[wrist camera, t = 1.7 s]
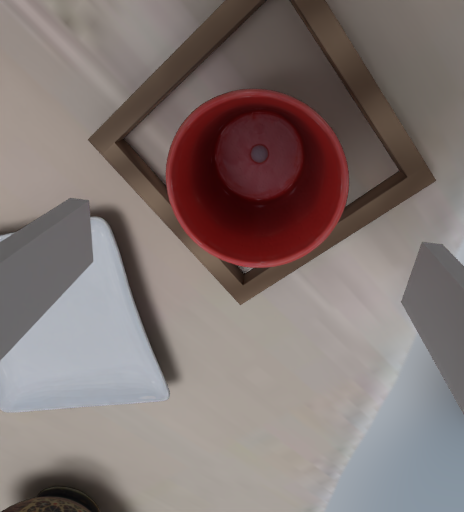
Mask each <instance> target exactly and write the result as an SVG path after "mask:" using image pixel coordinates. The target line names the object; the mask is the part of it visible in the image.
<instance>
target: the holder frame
mask: <svg viewBox="0 0 464 512" xmlns="http://www.w3.org/2000/svg"><path fill="white" fill-rule="evenodd" d="M265 1H266V0H225V1H224V2H223V3H222V4H221V5H220V6H219V7H218V8H217V9H216V10H215V11H214V12H213V14H212V15H211V16H210V17H209V18H208V19H207V20H206V21H205V22H204V23H203V24H202V25H201V26H200V27H199V28H198V29H197V30H196V31H195V32H194V33H193V34H192V35H191V36H190V37H189V38H188V39H187V40H186V41H185V42H184V43H183V44H182V45H181V46H180V47H179V48H178V49H177V50H176V51H175V52H174V53H173V54H172V55H171V56H170V57H169V58H168V59H167V60H166V61H165V62H164V63H163V64H162V65H161V66H160V67H159V68H158V69H157V70H156V71H155V72H154V73H153V74H152V75H151V76H150V77H149V78H148V79H147V80H146V81H145V82H144V83H143V84H142V85H141V86H140V87H139V88H138V89H137V90H136V91H135V92H134V93H133V94H132V95H131V96H130V97H129V98H128V99H127V100H126V101H125V102H124V103H123V104H122V106H121V107H120V108H119V109H118V110H117V111H116V112H115V113H114V114H113V115H112V116H111V117H110V118H109V119H108V120H107V121H106V122H105V123H104V124H103V125H102V126H101V127H100V128H99V129H98V130H97V131H96V132H95V133H94V134H93V135H92V136H91V137H90V138H89V139H88V141H89V142H90V143H91V144H92V145H93V146H94V147H95V148H96V149H97V150H98V151H99V152H100V154H101V155H102V156H103V157H104V158H105V159H106V160H107V161H108V162H109V163H110V164H111V165H112V167H113V168H114V169H115V170H116V171H117V172H118V173H119V174H120V175H121V176H122V177H123V178H124V180H125V181H126V182H127V183H128V184H129V185H130V186H131V187H132V188H133V189H134V190H135V191H136V193H137V194H138V195H139V196H140V197H141V198H142V199H143V200H144V201H145V202H146V203H147V204H148V206H149V207H150V208H151V209H152V210H153V211H154V212H155V213H156V214H157V215H158V216H159V217H160V219H161V220H162V221H163V222H164V223H165V224H166V225H167V226H168V227H169V228H170V229H171V230H172V232H173V233H174V234H175V235H176V236H177V237H178V238H179V239H180V240H181V241H182V242H183V243H184V245H185V246H186V247H187V248H188V249H189V250H190V251H191V252H192V253H193V254H194V255H195V256H196V258H197V259H198V260H199V261H200V262H201V263H202V264H203V265H204V266H205V267H206V268H207V269H208V271H209V272H210V273H211V274H212V275H213V276H214V277H215V278H216V279H217V280H218V281H219V282H220V284H221V285H222V286H223V287H224V288H225V289H226V290H227V291H228V292H229V293H230V294H231V295H232V297H233V298H234V299H235V300H236V301H237V302H238V303H239V304H240V305H241V304H243V303H244V302H246V301H248V300H249V299H251V298H252V297H254V296H255V295H257V294H259V293H260V292H262V291H263V290H265V289H266V288H268V287H270V286H271V285H273V284H274V283H276V282H277V281H279V280H281V279H282V278H284V277H285V276H287V275H288V274H290V273H292V272H293V271H295V270H296V269H298V268H299V267H301V266H303V265H304V264H306V263H307V262H309V261H311V260H312V259H314V258H315V257H317V256H318V255H320V254H322V253H323V252H325V251H326V250H328V249H329V248H331V247H333V246H334V245H336V244H337V243H339V242H340V241H342V240H344V239H345V238H347V237H348V236H350V235H351V234H353V233H355V232H356V231H358V230H359V229H361V228H362V227H364V226H366V225H367V224H369V223H370V222H372V221H373V220H375V219H377V218H378V217H380V216H381V215H383V214H384V213H386V212H388V211H389V210H391V209H392V208H394V207H395V206H397V205H399V204H400V203H402V202H403V201H405V200H406V199H408V198H410V197H411V196H413V195H414V194H416V193H418V192H419V191H421V190H422V189H424V188H425V187H427V186H429V185H430V184H432V183H433V182H435V181H436V179H435V178H434V176H433V174H432V173H431V171H430V170H429V168H428V166H427V165H426V163H425V161H424V160H423V158H422V157H421V155H420V153H419V152H418V150H417V148H416V147H415V145H414V144H413V142H412V140H411V139H410V137H409V136H408V134H407V132H406V131H405V129H404V127H403V126H402V124H401V123H400V121H399V119H398V118H397V116H396V114H395V113H394V111H393V110H392V108H391V106H390V105H389V103H388V101H387V100H386V98H385V97H384V95H383V93H382V92H381V90H380V88H379V87H378V85H377V84H376V82H375V80H374V79H373V77H372V75H371V74H370V72H369V71H368V69H367V67H366V66H365V64H364V63H363V61H362V59H361V58H360V56H359V54H358V53H357V51H356V50H355V48H354V46H353V45H352V43H351V41H350V40H349V38H348V37H347V35H346V33H345V32H344V30H343V28H342V27H341V25H340V24H339V22H338V20H337V19H336V17H335V15H334V14H333V12H332V11H331V9H330V7H329V6H328V4H327V2H326V1H325V0H290V1H291V3H292V5H293V6H294V8H295V9H296V11H297V12H298V14H299V15H300V17H301V19H302V20H303V22H304V23H305V25H306V26H307V28H308V29H309V31H310V32H311V34H312V36H313V37H314V39H315V40H316V42H317V43H318V45H319V46H320V48H321V49H322V51H323V53H324V54H325V56H326V57H327V59H328V60H329V62H330V63H331V65H332V67H333V68H334V70H335V71H336V73H337V74H338V76H339V77H340V79H341V80H342V82H343V84H344V85H345V87H346V88H347V90H348V91H349V93H350V94H351V96H352V97H353V99H354V101H355V102H356V104H357V105H358V107H359V108H360V110H361V111H362V113H363V114H364V116H365V118H366V119H367V121H368V122H369V124H370V125H371V127H372V128H373V130H374V132H375V133H376V135H377V136H378V138H379V139H380V141H381V142H382V144H383V145H384V147H385V149H386V150H387V152H388V153H389V155H390V156H391V158H392V159H393V161H394V162H395V164H396V166H397V167H398V169H399V170H400V171H399V172H397V173H396V174H394V175H393V176H391V177H390V178H388V179H387V180H385V181H384V182H382V183H381V184H379V185H378V186H376V187H375V188H373V189H372V190H370V191H369V192H367V193H366V194H364V195H363V196H361V197H360V198H358V199H357V200H355V201H354V202H352V203H351V204H349V205H348V206H346V207H345V208H344V211H343V213H342V215H341V218H340V220H339V222H338V223H337V225H336V226H335V228H334V229H333V231H332V232H331V234H330V235H329V236H328V237H327V238H326V239H325V240H324V242H323V243H322V244H320V245H319V246H318V247H317V248H315V249H314V250H313V251H311V252H310V253H308V254H307V255H305V256H304V257H302V258H299V259H297V260H295V261H293V262H290V263H287V264H284V265H280V266H275V267H266V268H254V269H252V270H251V271H249V272H248V273H246V274H245V275H244V274H243V273H242V272H241V270H240V269H239V268H238V267H237V266H236V265H235V264H232V263H228V262H226V261H223V260H221V259H219V258H217V257H215V256H213V255H211V254H209V253H208V252H206V251H205V250H204V249H202V248H201V247H199V246H198V245H197V244H196V243H195V242H194V241H193V240H192V239H191V238H190V237H189V236H188V235H187V234H186V232H185V231H184V229H183V228H182V227H181V225H180V223H179V222H178V220H177V218H176V216H175V214H174V212H173V209H172V207H171V204H170V201H169V197H168V192H167V187H166V186H165V185H164V184H163V183H162V182H161V180H160V179H159V178H158V177H157V176H156V175H155V174H154V173H153V171H152V170H151V169H150V168H149V167H148V166H147V165H146V164H145V162H144V161H143V160H142V159H141V158H140V157H139V156H138V155H137V153H136V152H135V151H134V150H133V149H132V148H131V147H130V146H129V144H128V143H127V142H126V141H125V140H124V139H123V138H124V137H125V136H126V135H127V134H128V133H129V132H130V131H131V130H133V129H134V128H135V127H136V126H137V125H138V124H139V123H140V122H141V121H142V120H143V119H144V118H145V117H146V116H147V115H148V114H149V113H150V112H151V111H152V110H153V109H154V108H155V107H156V106H157V105H158V104H159V103H161V102H162V101H163V100H164V99H165V98H166V97H167V96H168V95H169V94H170V93H171V92H172V91H173V90H174V89H175V88H176V87H177V86H178V85H179V84H180V83H181V82H182V81H183V80H184V79H185V78H186V77H188V76H189V75H190V74H191V73H192V72H193V71H194V70H195V69H196V68H197V67H198V66H199V65H200V64H201V63H202V62H203V61H204V60H205V59H206V58H207V57H208V56H209V55H210V54H211V53H212V52H213V51H214V50H216V49H217V48H218V47H219V46H220V45H221V44H222V43H223V42H224V41H225V40H226V39H227V38H228V37H229V36H230V35H231V34H232V33H233V32H234V31H235V30H236V29H237V28H238V27H239V26H240V25H241V24H243V23H244V22H245V21H246V20H247V19H248V18H249V17H250V16H251V15H252V14H253V13H254V12H255V11H256V10H257V9H258V8H259V7H260V6H261V5H262V4H263V3H264V2H265Z"/></svg>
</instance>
